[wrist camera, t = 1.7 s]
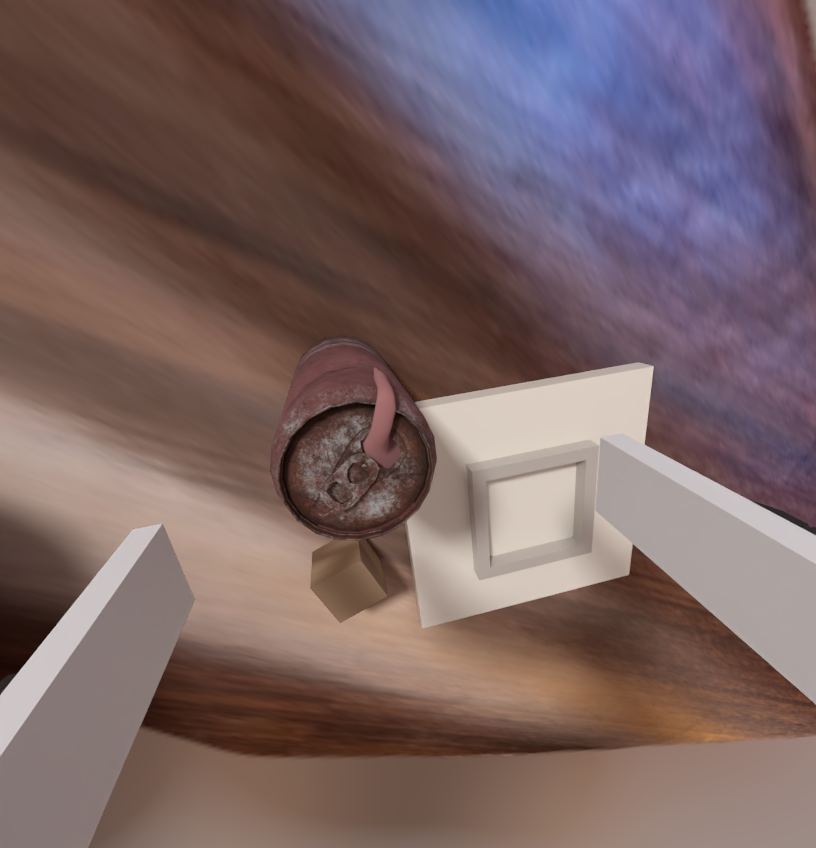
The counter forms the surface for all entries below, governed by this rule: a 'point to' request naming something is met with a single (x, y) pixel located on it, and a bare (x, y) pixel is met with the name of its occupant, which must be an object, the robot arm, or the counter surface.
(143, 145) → the counter surface
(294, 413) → the can
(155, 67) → the counter surface
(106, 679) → the robot arm
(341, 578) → the walnut block
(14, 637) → the counter surface
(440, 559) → the board
